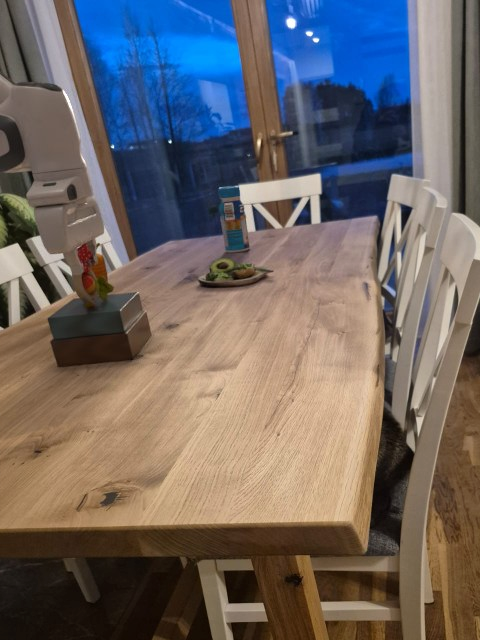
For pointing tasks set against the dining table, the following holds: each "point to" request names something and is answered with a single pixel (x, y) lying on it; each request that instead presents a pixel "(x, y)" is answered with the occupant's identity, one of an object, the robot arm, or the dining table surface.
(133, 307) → the block stack
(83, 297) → the bird rattle
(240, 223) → the blue canister
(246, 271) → the salad plate
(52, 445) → the dining table surface
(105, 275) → the carrot
